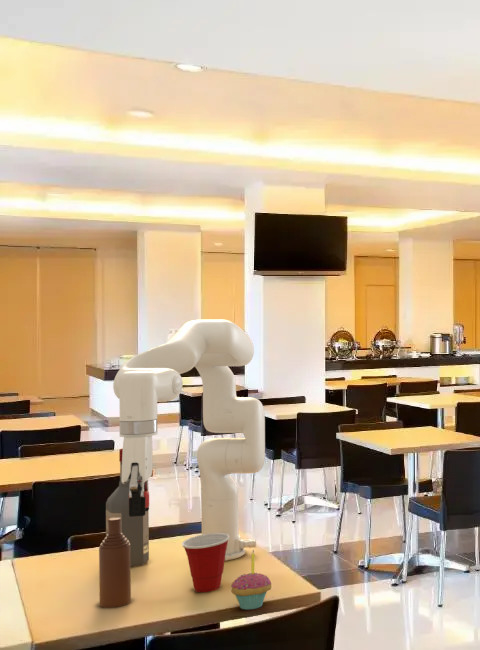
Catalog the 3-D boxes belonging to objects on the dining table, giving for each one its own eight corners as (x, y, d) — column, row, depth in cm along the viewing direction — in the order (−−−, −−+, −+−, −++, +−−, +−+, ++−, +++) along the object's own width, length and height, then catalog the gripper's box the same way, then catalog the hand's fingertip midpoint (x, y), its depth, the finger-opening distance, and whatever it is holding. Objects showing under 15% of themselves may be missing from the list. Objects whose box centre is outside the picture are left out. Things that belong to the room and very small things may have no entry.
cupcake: (236, 600, 197) (236, 547, 197) (274, 599, 198) (274, 546, 198) (227, 613, 189) (227, 558, 189) (267, 612, 189) (267, 556, 189)
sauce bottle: (133, 597, 200) (132, 514, 200) (128, 606, 194) (127, 520, 194) (102, 599, 199) (102, 516, 199) (96, 608, 193) (96, 522, 193)
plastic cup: (175, 587, 207) (175, 537, 207) (221, 579, 214) (220, 530, 214) (190, 599, 198) (189, 546, 198) (237, 589, 205) (236, 538, 205)
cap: (129, 510, 185) (129, 495, 185) (128, 506, 188) (128, 491, 188) (149, 508, 187) (149, 493, 187) (148, 504, 190) (148, 490, 190)
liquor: (113, 571, 221) (112, 452, 221) (104, 563, 228) (103, 448, 229) (151, 564, 227) (150, 449, 227) (140, 556, 234) (139, 445, 234)
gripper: (126, 424, 195) (127, 506, 195) (112, 434, 179) (112, 523, 178) (162, 423, 197) (163, 504, 196) (151, 432, 181) (151, 521, 180)
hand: (139, 512), depth 187 cm, fingers closed on cap, 3 cm apart
